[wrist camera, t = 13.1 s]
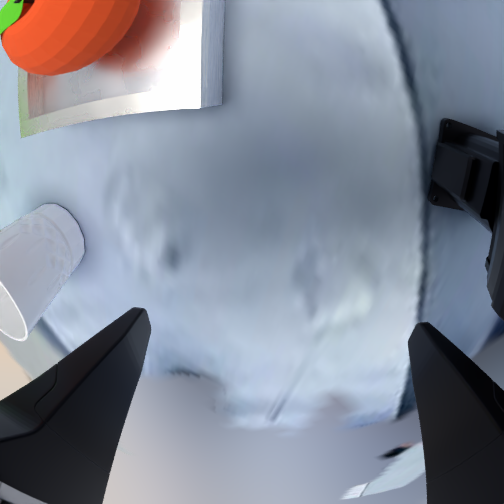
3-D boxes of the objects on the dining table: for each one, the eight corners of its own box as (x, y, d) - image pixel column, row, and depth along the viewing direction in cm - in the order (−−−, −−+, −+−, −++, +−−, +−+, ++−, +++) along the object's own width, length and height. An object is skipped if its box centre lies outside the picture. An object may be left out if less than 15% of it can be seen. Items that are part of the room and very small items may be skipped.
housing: (227, -49, 10) (211, -89, 5) (222, 104, 16) (200, 107, 11) (75, -11, 10) (31, -23, 6) (70, 122, 16) (21, 138, 12)
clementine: (60, 101, 12) (-31, 126, 6) (44, 17, 9) (-37, 14, 3) (175, 42, 11) (96, 11, 5) (152, -48, 7) (86, -98, 1)
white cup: (23, 227, 22) (-40, 283, 13) (50, 178, 19) (-34, 234, 10) (69, 282, 25) (17, 350, 16) (105, 244, 22) (38, 324, 13)
